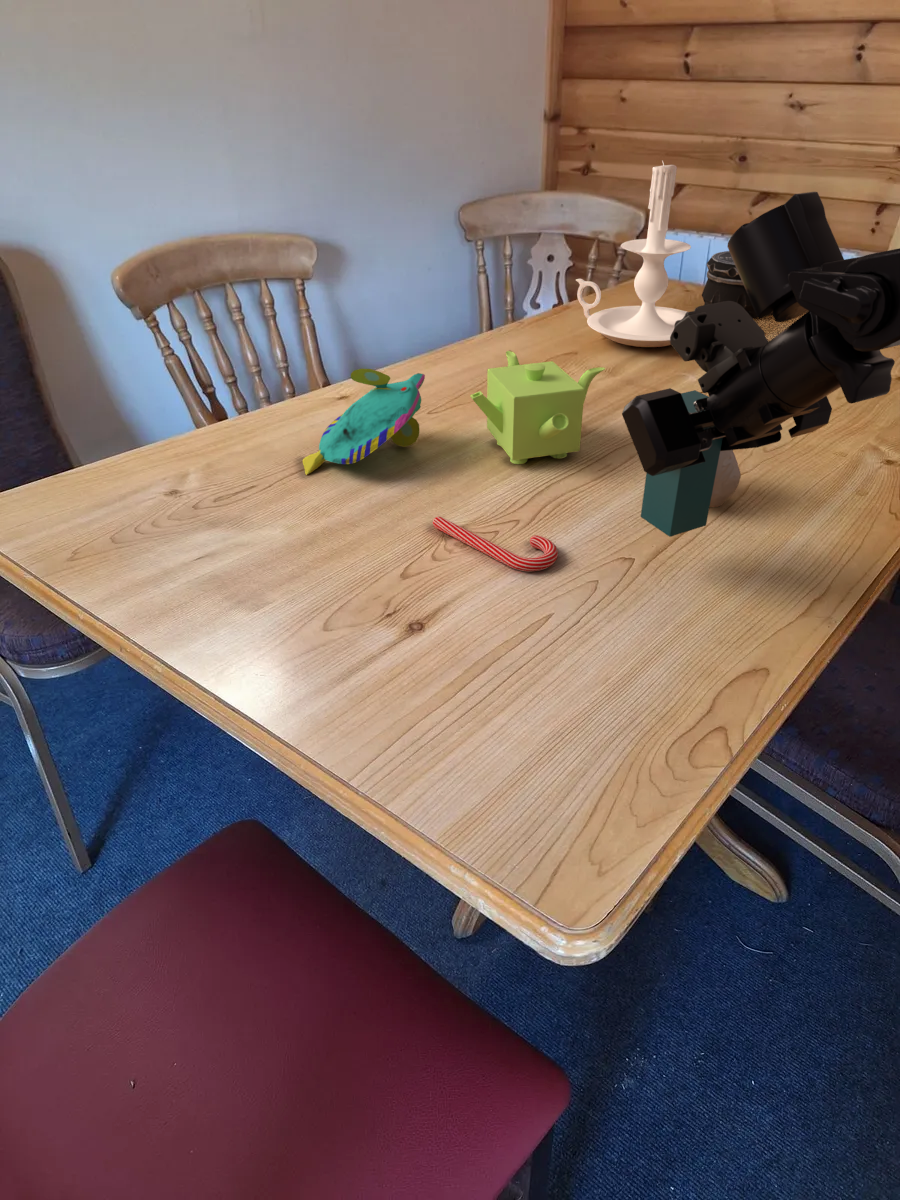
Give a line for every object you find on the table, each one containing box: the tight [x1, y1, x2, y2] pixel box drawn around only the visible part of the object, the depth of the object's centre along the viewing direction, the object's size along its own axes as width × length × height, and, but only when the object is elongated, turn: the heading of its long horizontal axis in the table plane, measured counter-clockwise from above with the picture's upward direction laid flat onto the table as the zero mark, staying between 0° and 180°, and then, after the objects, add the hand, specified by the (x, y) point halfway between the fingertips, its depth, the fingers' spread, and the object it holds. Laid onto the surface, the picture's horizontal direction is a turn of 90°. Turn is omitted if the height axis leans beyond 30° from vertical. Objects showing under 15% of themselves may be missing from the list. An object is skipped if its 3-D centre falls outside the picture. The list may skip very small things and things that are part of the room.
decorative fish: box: [302, 368, 426, 476], centre depth 99 cm, size 20×12×15 cm
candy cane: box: [432, 516, 559, 572], centre depth 84 cm, size 6×15×2 cm, turn 44°
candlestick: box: [575, 160, 692, 348], centre depth 131 cm, size 21×25×28 cm
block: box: [640, 389, 723, 538], centre depth 72 cm, size 4×4×12 cm
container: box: [701, 250, 758, 319], centre depth 148 cm, size 13×13×10 cm
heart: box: [709, 450, 742, 508], centre depth 87 cm, size 10×10×12 cm
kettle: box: [469, 350, 606, 465], centre depth 100 cm, size 15×14×11 cm
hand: (673, 453), depth 72 cm, fingers closed on block, 4 cm apart
